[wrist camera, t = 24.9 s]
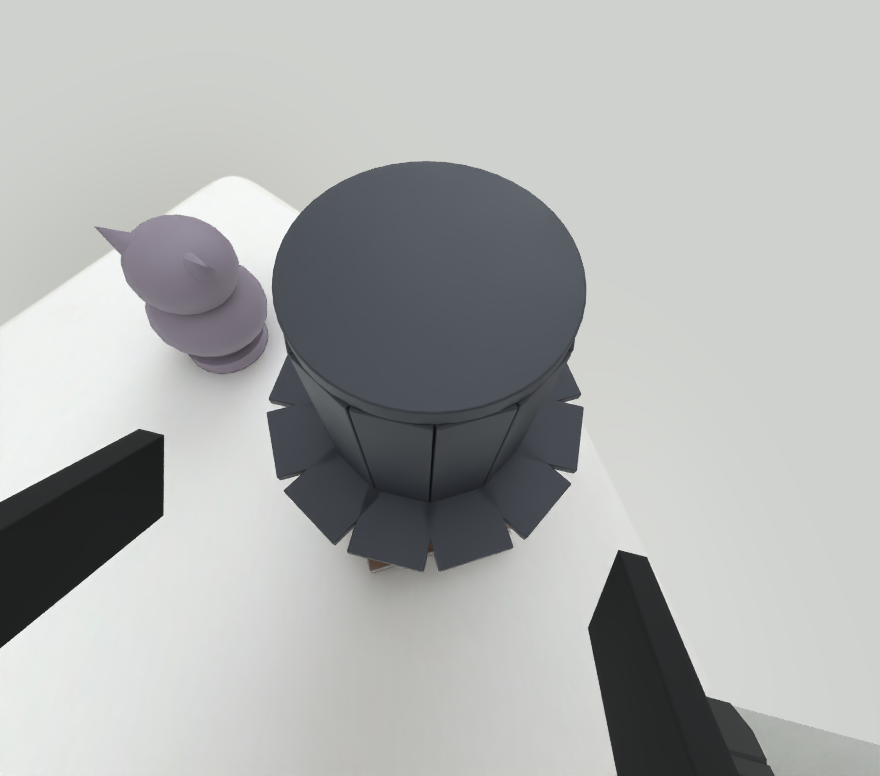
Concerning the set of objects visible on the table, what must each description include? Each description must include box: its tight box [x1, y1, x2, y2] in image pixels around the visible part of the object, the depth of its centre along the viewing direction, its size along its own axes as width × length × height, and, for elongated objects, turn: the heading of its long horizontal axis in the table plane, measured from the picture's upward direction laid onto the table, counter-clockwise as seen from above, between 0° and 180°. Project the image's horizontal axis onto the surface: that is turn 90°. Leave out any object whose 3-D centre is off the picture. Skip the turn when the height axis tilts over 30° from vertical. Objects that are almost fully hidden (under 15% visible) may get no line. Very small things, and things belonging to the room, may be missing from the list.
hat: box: [267, 161, 586, 572], centre depth 18 cm, size 14×14×10 cm
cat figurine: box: [95, 215, 268, 374], centre depth 34 cm, size 8×8×12 cm
